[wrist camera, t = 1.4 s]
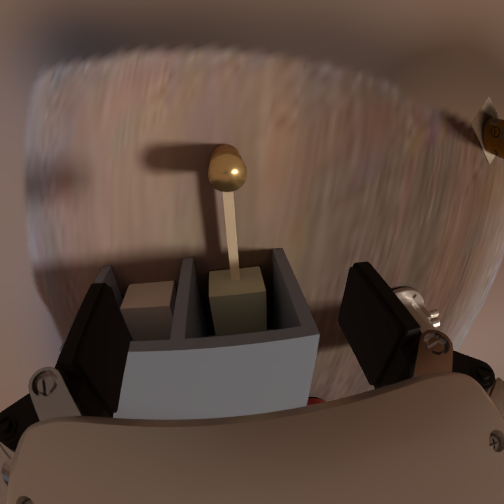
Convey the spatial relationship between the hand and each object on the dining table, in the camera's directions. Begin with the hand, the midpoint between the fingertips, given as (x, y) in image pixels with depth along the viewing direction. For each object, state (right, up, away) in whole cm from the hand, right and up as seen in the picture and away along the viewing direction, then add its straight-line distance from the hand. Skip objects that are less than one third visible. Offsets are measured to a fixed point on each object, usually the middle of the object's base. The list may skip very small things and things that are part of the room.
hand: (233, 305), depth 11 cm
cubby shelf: (-6, -5, +25) cm, 26 cm away
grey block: (-12, -4, +24) cm, 27 cm away
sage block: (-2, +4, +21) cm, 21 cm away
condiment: (+37, +21, +17) cm, 46 cm away
